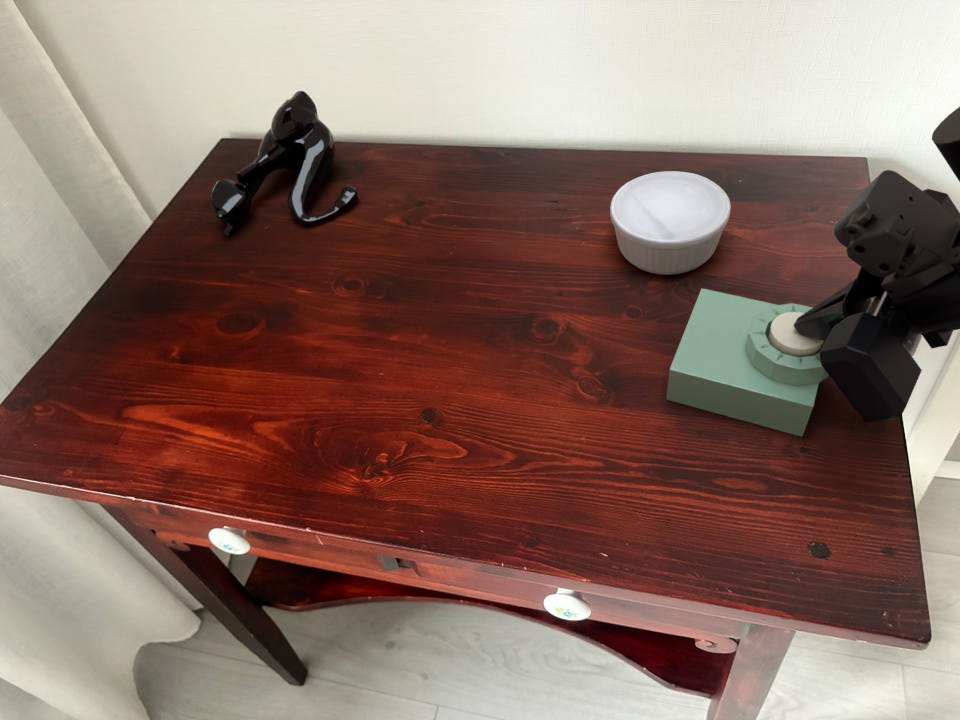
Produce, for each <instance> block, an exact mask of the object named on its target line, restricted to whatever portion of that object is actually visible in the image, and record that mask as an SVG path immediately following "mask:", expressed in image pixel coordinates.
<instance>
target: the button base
mask: <svg viewBox="0 0 960 720" xmlns="http://www.w3.org/2000/svg"><path fill="white" fill-rule="evenodd" d="M812 308H814V306H813V307H812V306H807V305H803V304H798V303H792V302H791V303H784V304H776V303H771V302H767V301H762V300H758V299H753V298H750V297H749V298H748V297H744V296H739V295H735V294H730V293H726V292H722V291H721V292H720V291H716V290H711V289H707V288H703V287H701V288H700V291H699V293H698V296H697V298H696V301H695V303H694V306H693V308H692V310H691V314H690V315H689V319H688V322H687V324H686V326H685V329H684V332H683V334H682V337H681V338H680V342H679V344H678V346H677V348H676V352H675V354H674V356H673V358H672V362H671V365H670V367H669V370H668V377H667V387H666V394H665V395H666V396H665V399H666V400H667V401H670V402H674V403H678V404H682V405H685V406H687V407H692V408H696V409H700V410H703V411H705V412H710V413H714V414H717V415H721V416H725V417H728V418H732V419H736V420H739V421H743V422H746V423H750V424H753V425H757V426H761V427H764V428H768V429H770V430H771V429H772V430H776V431H779V432H782V433H786V434H789V435H794V436H797V437H801V438H803V437H804V434H805V431H806V429H807V425H808V423H809V420H810V418H811V415H812V412H813V409H814V406H815V401H816V398H817V393H818V388H819V384H820V383H821V382H823V381H824V380H825V379H826V378H828V377H830V376H829V374H828V373H827V372H826V370H825V369H824V368H823V366H822V365H821V359H820V352H819V353H818V354H816V355H814V356H807V357H800V358H799V357H795V356H791V355H786V354H782V353H781V352H780V351H778V350H777V349H775V348H774V347H773V346H771V345H770V343H769V341H768V335H769V331H770V327H771V324H772V322H773V320H774V319H775V318H776V317H777V316H779V315H781V314H784V313H788V312H800V313H806V312H808V311H809V310H811V309H812ZM824 343H825V341H823V344H822V347H823V345H824ZM822 347H821V349H822ZM820 351H821V350H820Z"/></svg>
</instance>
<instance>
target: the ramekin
mask: <svg viewBox="0 0 960 720" xmlns="http://www.w3.org/2000/svg"><path fill="white" fill-rule="evenodd" d="M731 208H732V207H731V200H730V198H729V196H728V194H727V193H726V191H725V190H724V189H723V188H722V187H721V186H720V185H719V184H717V183H715V182H714V181H713V180H710V179H709V178H707V177H705V176H702V175H700V174H697V173H692V172H687V171H679V170H678V171H673V170H665V171H657V172H650V173H646V174H644V175H641V176H637V177H636V178H634V179H632V180H630V181H628V182H626V183H624V184H623V185H622V186H621V187H620V188H619V189H618V190H617V191H616V192H615V193H614V195H613V196H612V199H611V202H610V207H609V216H610V221H611V224H612V225H613V227H614V233H615V235H616V240H617V246H618V248H619V251H620V252H621V254H622V256H623V257H624V258H625V259H626V260H627V261H628V262H629V263H630V264H632V265H633V266H634V267H636V268H637V269H640V270H642V271H644V272H647V273H650V274H655V275H660V276H661V275H662V276H671V275H673V276H674V275H679V274H684V273H688V272H690V271H693V270H696V269H697V268H699V267H700V266H702V265H704V264H705V263H706V262H708V260H709V259H710V258H711V257H712V256H713V255H714V253H715V251H716V250H717V247H718V245H719V242H720V239H721V238H722V234H723V231H724V229H725V228H726V226H727V225H728V222H729V220H730V216H731Z"/></svg>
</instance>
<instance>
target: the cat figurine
mask: <svg viewBox="0 0 960 720" xmlns="http://www.w3.org/2000/svg"><path fill="white" fill-rule="evenodd" d="M313 100H314V99H312V98H311V97H310V95H309V94H308V93H307V92H306V91H304V90H297V91H296V92H295V93H294V94H293V95H292V96H291V98H289V99H286V100H285V101H284V102H283V103H282V104H281V105H280V106H279V107H278V108H277V110H276V112H275V113H274V115H273V117H272V120H271V124H270V128H269V129H268V130H267V131H266V133H264V136H263V138H262V140H261V142H260V145H259V147H258V150H257V151H258V152H257V156H256V157H255V159H254V161H252V162H250V163H248V164H247V165H246V166H244V167H242V168H241V169H240V170H239V171H237V173H236V179H237V182H238V183H237V182H235V181H234V180H232V179H228V178H222V179H218V180H217V181H216V182H215V184H214V186H213V188H212V190H211V193H210V203H211V205H212V207H213V210H214V212H215V217H216V218H217V219H219V220H220V221H221V222H222V223H223V224H224V225H226V227H225V229H224V231H223V234H224V236H226V237H227V238H229V237H231V236H232V235H233V233H234V230H235V229H236V228H237V227H238V226H239V225H240V224H241V223H242V221H244V219H245V218H246V217H248V215H249V214H250V213H251V211H252V209H253V201H252V199H253V198H254V197H255V196H256V194H257V193H258V191H259V190H260V188H261V186H262V185H263V184H264V182H265V180H266V178H267V177H268V176H270V175H271V174H272V173H273V172H276V171H279V170H283V169H285V170H288V171H290V172H292V171H293V172H294V171H298V173H297V175H296V178H295V180H294V182H293V185H292V187H291V189H290V191H289V193H288V196H287V200H286V201H287V204H288V209H289V210H290V212H291V214H292V216H293V217H294V219H295V220H296V221H297V222H298V223H300V224H302V225H304V226H310V227H311V226H314V225H317V224H320V223H323V222H325V221H328V220H330V219H332V218H335V217H336V216H338V215H339V214H341V213H345V212H349V211H350V210H351V209H352V208H353V206H355V205H356V204H357V202H358V201H359V193H358V189H357V187H355V186H353V185H350V184H349V185H346V186H344V187H343V188H342V190H341V193H340V195H339V196H338V197H337V198H336V200H335V202H334V205H333V207H332V208H330V209H328V210H326V211H324V212H321V213H319V214H316V215H308V214H307V213H306V209H307V206H308V204H309V202H310V200H311V199H312V197H313V196H314V195H315V194H316V192H317V190H318V189H319V187H320V186H321V185H322V183H323V180H325V178H326V176H328V173H329V172H330V170H331V168H332V166H333V164H334V160H335V155H336V146H335V139H334V136H333V134H332V133H333V132H332V131H331V130H330V128H329V127H328V126H327V125H326V124H325V123H324V122H323V121H322V120H320V118H319V113H318V109H317V105H316V103H315V102H314V101H313Z"/></svg>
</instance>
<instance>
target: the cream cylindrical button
mask: <svg viewBox="0 0 960 720" xmlns="http://www.w3.org/2000/svg"><path fill="white" fill-rule="evenodd" d="M803 314H804V313H800V312H788V313H784V314H781V315H779V316H777V317H776V318H775V319H774V320H773V322H772V324H771V327H770V331H769V335H768V341H769V343H770V345H771V346H773V347H774V348H775V349H777V350H778V351H780V352H781V353H782V354H786V355H791V356H795V357H799V358H800V357H807V356H814V355H816V354H818V353H819V352H820V350H821V347H822V344H823V341H824V340H819V339H815V338H811V337H807V336H803V335H800V334H799V333H798V331H797V330H796V329H795V328H794V323H795V322H796V320H797V318H798V317H800V316H801V315H803Z"/></svg>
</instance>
